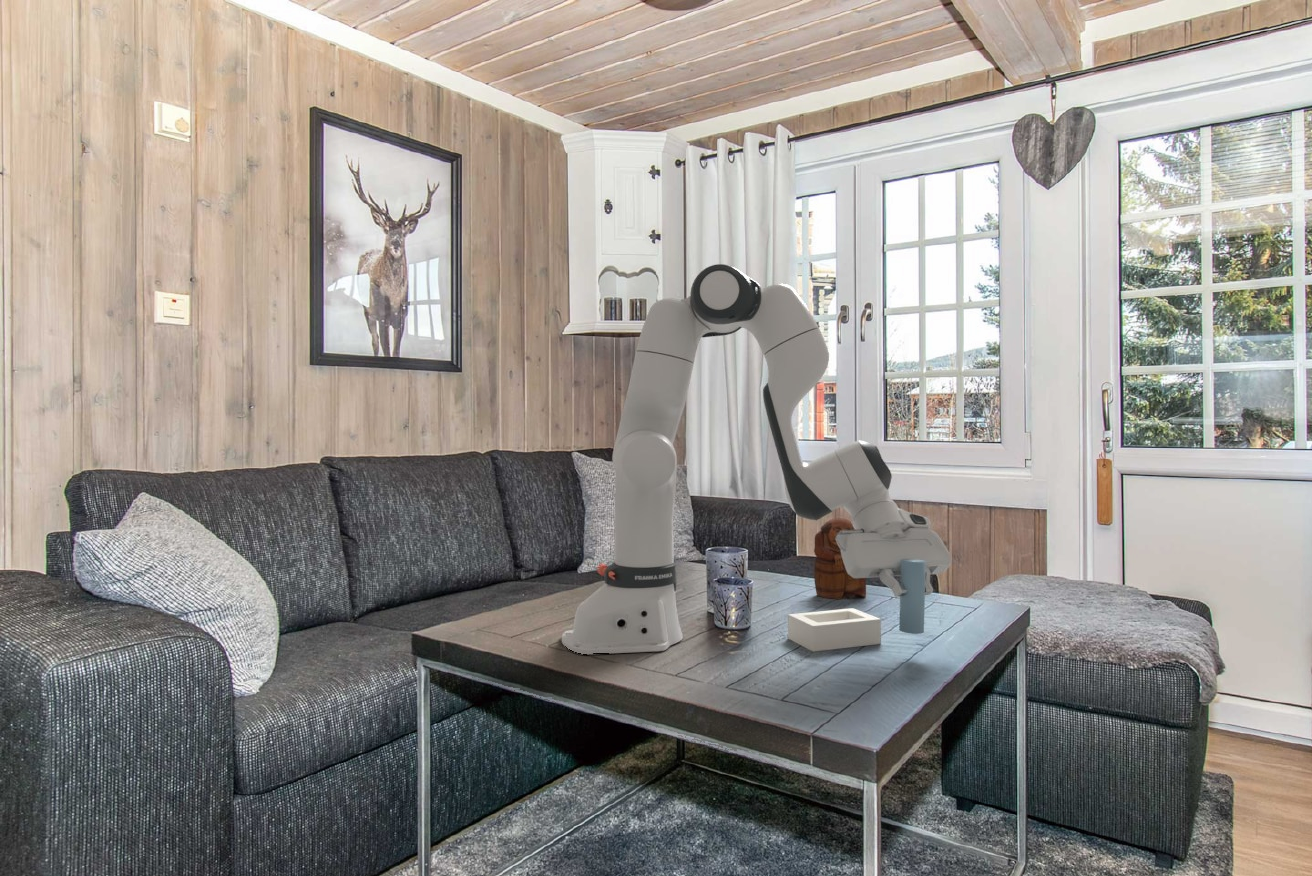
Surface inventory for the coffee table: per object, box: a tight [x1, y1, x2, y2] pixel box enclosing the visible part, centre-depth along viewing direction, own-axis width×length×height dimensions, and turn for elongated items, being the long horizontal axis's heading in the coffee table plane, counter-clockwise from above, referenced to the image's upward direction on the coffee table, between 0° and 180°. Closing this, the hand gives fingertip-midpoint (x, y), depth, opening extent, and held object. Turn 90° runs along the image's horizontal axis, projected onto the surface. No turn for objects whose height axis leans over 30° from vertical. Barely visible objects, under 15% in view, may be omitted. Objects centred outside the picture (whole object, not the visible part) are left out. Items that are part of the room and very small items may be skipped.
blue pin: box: [898, 559, 926, 635], centre depth 134 cm, size 4×4×12 cm
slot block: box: [787, 607, 882, 653], centre depth 144 cm, size 14×9×4 cm, turn 109°
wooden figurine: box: [813, 518, 867, 600], centre depth 182 cm, size 12×6×18 cm, turn 97°
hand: (914, 593), depth 134 cm, fingers closed on blue pin, 4 cm apart
